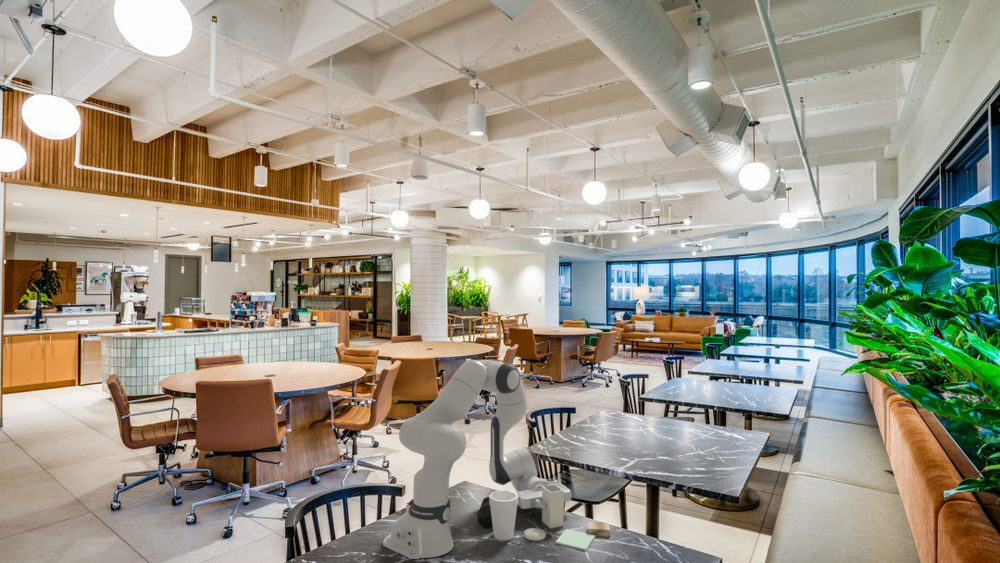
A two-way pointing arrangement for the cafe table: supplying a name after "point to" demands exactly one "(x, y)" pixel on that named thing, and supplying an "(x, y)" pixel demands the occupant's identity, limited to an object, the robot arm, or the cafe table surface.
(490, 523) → the drinking cup
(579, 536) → the mat
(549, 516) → the canister
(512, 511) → the foam cup
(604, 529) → the oak block
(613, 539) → the cafe table surface
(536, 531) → the white pebble stone
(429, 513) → the robot arm
